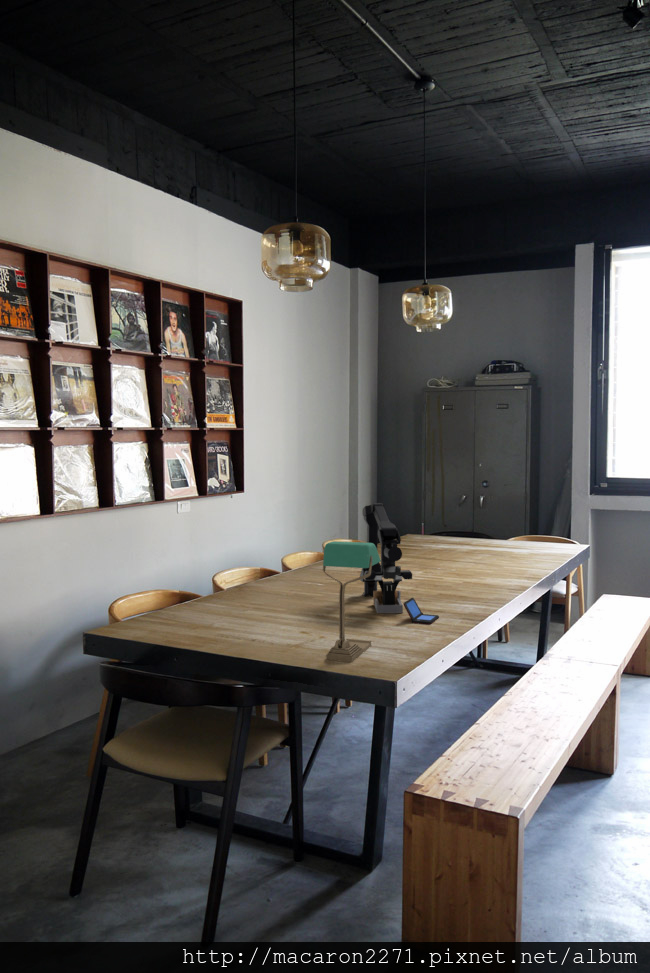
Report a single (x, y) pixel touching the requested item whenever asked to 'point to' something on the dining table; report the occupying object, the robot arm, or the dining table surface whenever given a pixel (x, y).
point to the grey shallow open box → (389, 607)
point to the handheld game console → (418, 613)
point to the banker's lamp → (344, 557)
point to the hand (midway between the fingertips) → (388, 596)
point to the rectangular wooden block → (379, 597)
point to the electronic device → (388, 593)
